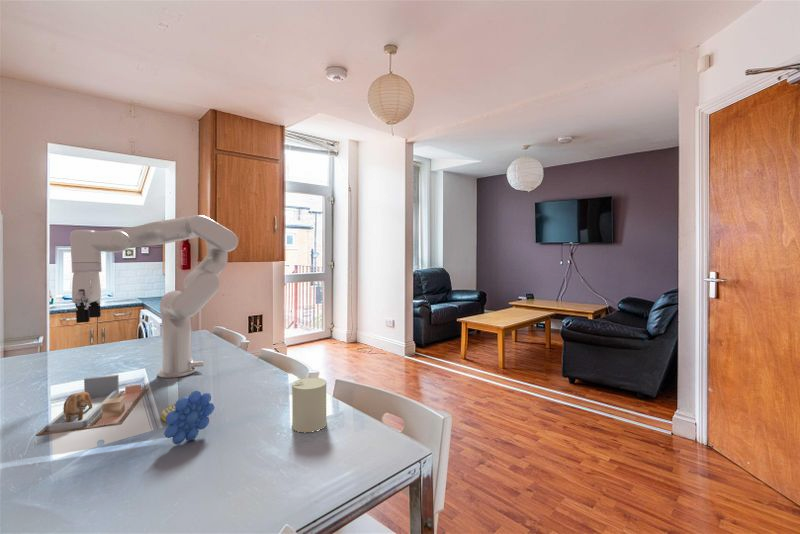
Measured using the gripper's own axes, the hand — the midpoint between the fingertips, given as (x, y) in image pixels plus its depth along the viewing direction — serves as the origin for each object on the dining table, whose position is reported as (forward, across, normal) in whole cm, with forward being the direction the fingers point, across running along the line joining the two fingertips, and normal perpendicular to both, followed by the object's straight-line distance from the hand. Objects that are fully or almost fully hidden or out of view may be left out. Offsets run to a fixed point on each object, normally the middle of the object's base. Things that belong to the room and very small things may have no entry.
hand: (89, 319), depth 124 cm
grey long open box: (+24, +21, +5) cm, 32 cm away
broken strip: (+24, +20, +13) cm, 34 cm away
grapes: (+24, +48, +34) cm, 64 cm away
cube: (+23, +27, +13) cm, 38 cm away
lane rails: (+24, +20, +8) cm, 33 cm away
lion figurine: (+24, +25, +5) cm, 35 cm away
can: (+25, +51, +63) cm, 85 cm away
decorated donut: (+25, +34, +32) cm, 53 cm away
